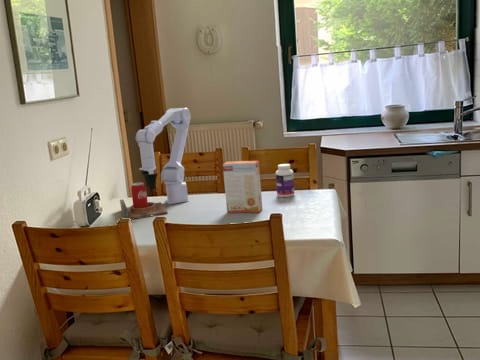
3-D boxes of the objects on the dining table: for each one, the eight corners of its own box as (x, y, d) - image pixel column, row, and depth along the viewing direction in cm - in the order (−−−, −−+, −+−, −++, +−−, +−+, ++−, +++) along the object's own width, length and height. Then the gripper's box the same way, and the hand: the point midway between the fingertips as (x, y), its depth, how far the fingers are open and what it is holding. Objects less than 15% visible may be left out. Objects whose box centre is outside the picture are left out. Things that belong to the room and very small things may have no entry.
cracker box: (262, 209, 211) (259, 160, 207) (258, 213, 206) (254, 162, 202) (231, 208, 216) (227, 160, 212) (226, 212, 211) (222, 163, 206)
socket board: (160, 204, 233) (159, 193, 232) (167, 213, 217) (166, 202, 216) (121, 210, 228) (119, 199, 227) (125, 220, 212) (123, 209, 210)
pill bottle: (274, 195, 233) (272, 164, 230) (291, 192, 235) (289, 162, 232) (280, 199, 225) (278, 167, 222) (297, 196, 227) (295, 165, 224)
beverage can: (144, 212, 218) (141, 185, 216) (131, 212, 220) (128, 185, 217) (150, 208, 224) (147, 181, 222) (137, 208, 226) (134, 182, 223)
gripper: (136, 156, 224) (140, 185, 227) (140, 160, 211) (144, 192, 214) (152, 154, 226) (155, 183, 229) (157, 158, 213) (160, 189, 216)
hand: (151, 187), depth 222 cm, fingers open, 7 cm apart
